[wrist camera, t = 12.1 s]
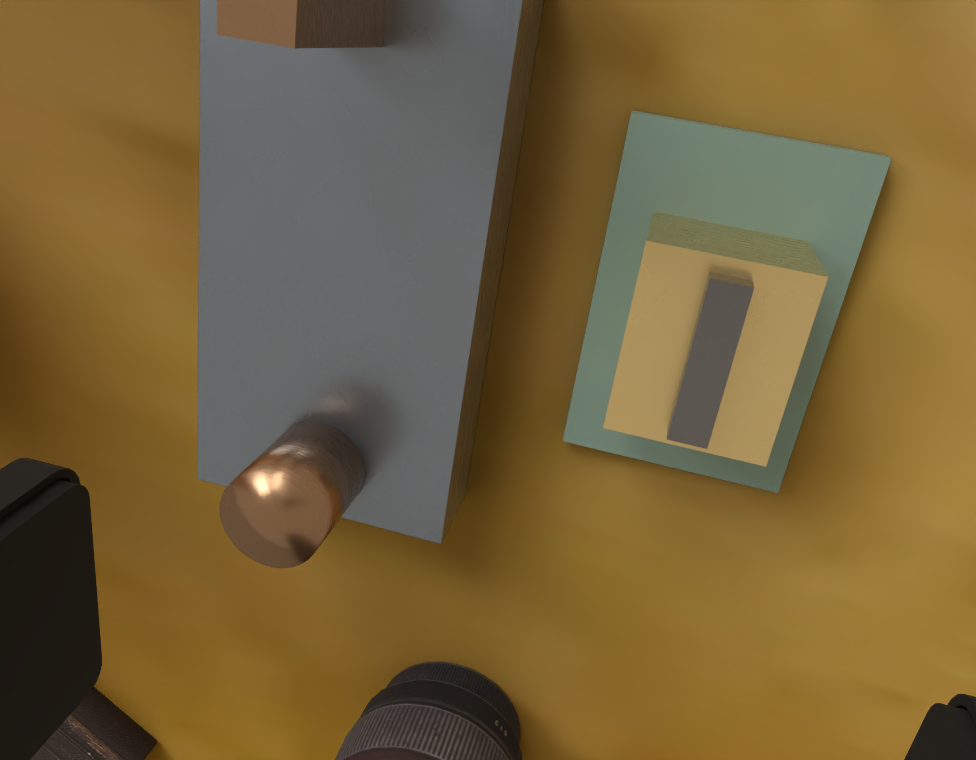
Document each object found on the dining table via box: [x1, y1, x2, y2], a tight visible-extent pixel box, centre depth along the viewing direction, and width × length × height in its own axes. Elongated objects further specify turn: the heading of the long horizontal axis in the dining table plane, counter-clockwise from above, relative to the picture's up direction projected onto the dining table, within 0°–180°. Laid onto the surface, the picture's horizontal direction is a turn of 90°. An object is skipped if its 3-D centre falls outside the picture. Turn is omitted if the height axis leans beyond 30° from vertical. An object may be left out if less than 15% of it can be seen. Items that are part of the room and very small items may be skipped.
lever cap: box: [603, 211, 828, 467], centre depth 26 cm, size 6×5×5 cm
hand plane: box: [197, 0, 544, 568], centre depth 27 cm, size 20×10×10 cm, turn 171°
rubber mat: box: [563, 110, 892, 493], centre depth 29 cm, size 12×8×1 cm, turn 171°
